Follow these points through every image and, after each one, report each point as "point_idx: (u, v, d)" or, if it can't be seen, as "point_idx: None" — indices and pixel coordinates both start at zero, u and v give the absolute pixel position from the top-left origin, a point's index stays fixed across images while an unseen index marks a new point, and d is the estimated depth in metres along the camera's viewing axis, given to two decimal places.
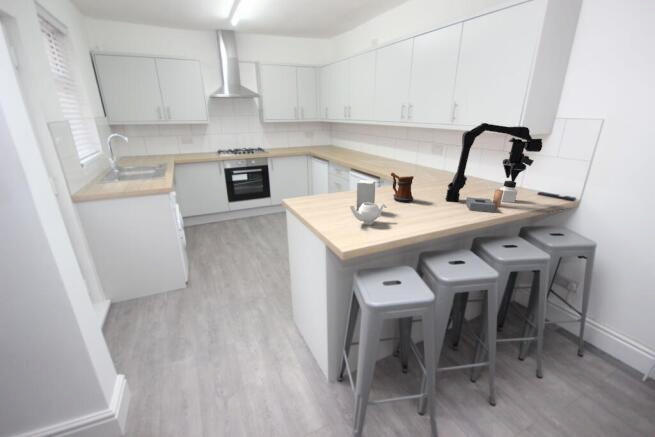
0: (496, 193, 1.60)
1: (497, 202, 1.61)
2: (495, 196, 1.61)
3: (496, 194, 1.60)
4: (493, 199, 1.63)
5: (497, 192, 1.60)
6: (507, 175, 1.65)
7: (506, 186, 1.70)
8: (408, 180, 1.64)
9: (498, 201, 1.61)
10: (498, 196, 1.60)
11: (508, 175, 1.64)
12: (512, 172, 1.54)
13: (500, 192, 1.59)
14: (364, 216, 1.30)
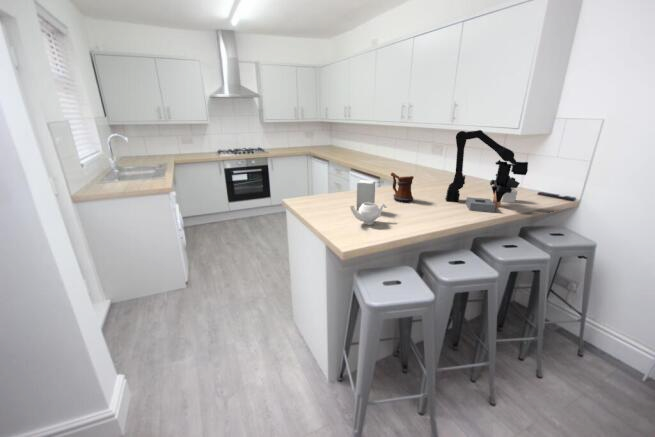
0: None
1: (497, 202, 1.61)
2: (495, 196, 1.61)
3: None
4: (493, 199, 1.63)
5: None
6: None
7: None
8: (408, 180, 1.64)
9: None
10: None
11: None
12: (497, 193, 1.58)
13: None
14: (364, 216, 1.30)
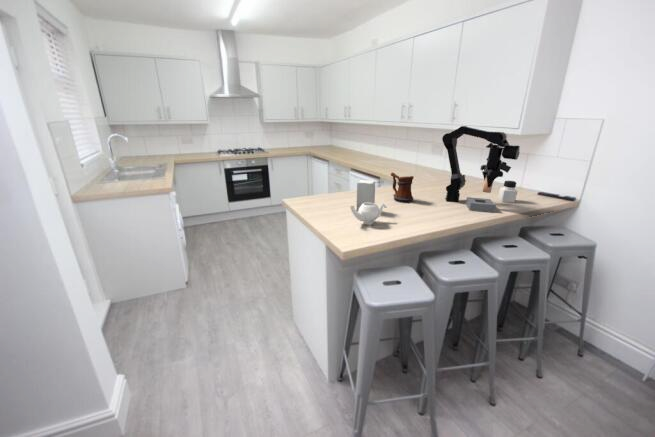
0: None
1: (488, 188, 1.55)
2: (486, 181, 1.55)
3: None
4: (484, 184, 1.57)
5: None
6: None
7: (506, 186, 1.70)
8: (408, 180, 1.64)
9: (488, 187, 1.55)
10: None
11: None
12: (488, 178, 1.52)
13: None
14: (364, 216, 1.30)
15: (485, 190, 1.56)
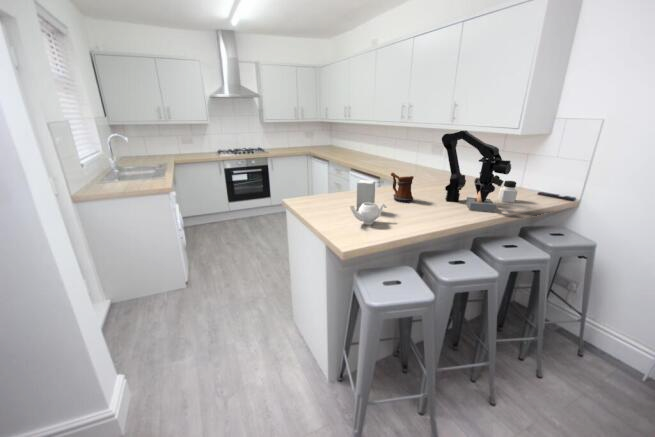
0: (479, 195, 1.56)
1: None
2: (478, 198, 1.57)
3: (479, 196, 1.56)
4: None
5: None
6: None
7: (506, 186, 1.70)
8: (408, 180, 1.64)
9: None
10: None
11: None
12: (481, 193, 1.51)
13: None
14: (364, 216, 1.30)
15: None
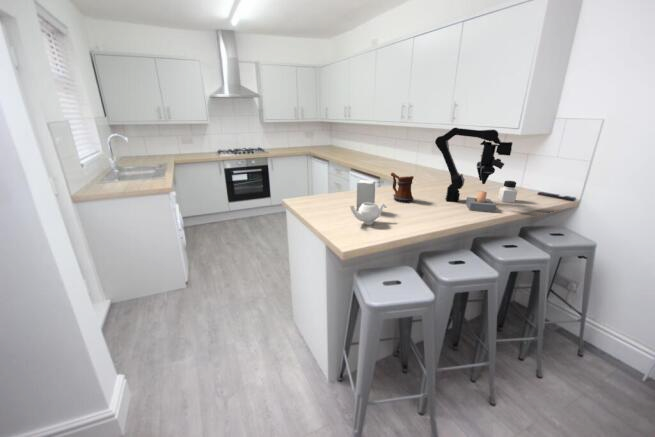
0: (479, 195, 1.56)
1: None
2: (478, 198, 1.57)
3: (479, 196, 1.56)
4: None
5: (480, 194, 1.56)
6: (480, 178, 1.65)
7: (506, 186, 1.70)
8: (408, 180, 1.64)
9: None
10: (481, 198, 1.56)
11: None
12: (482, 175, 1.55)
13: (483, 194, 1.55)
14: (364, 216, 1.30)
15: None
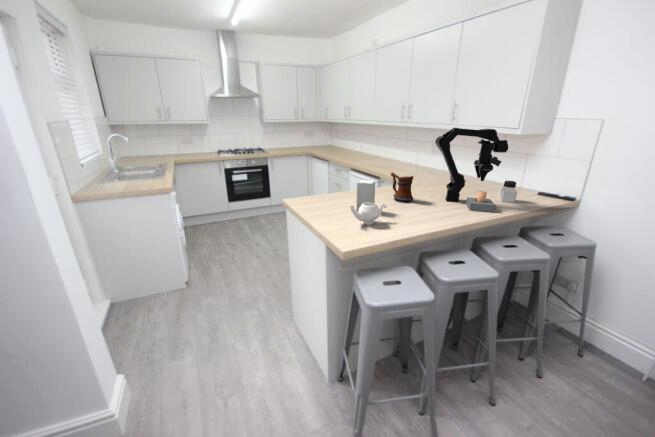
0: (479, 195, 1.56)
1: None
2: (478, 198, 1.57)
3: (479, 196, 1.56)
4: None
5: (480, 194, 1.56)
6: (478, 175, 1.71)
7: (506, 186, 1.70)
8: (408, 180, 1.64)
9: None
10: (481, 198, 1.56)
11: (479, 175, 1.71)
12: (481, 172, 1.61)
13: (483, 194, 1.55)
14: (364, 216, 1.30)
15: None
